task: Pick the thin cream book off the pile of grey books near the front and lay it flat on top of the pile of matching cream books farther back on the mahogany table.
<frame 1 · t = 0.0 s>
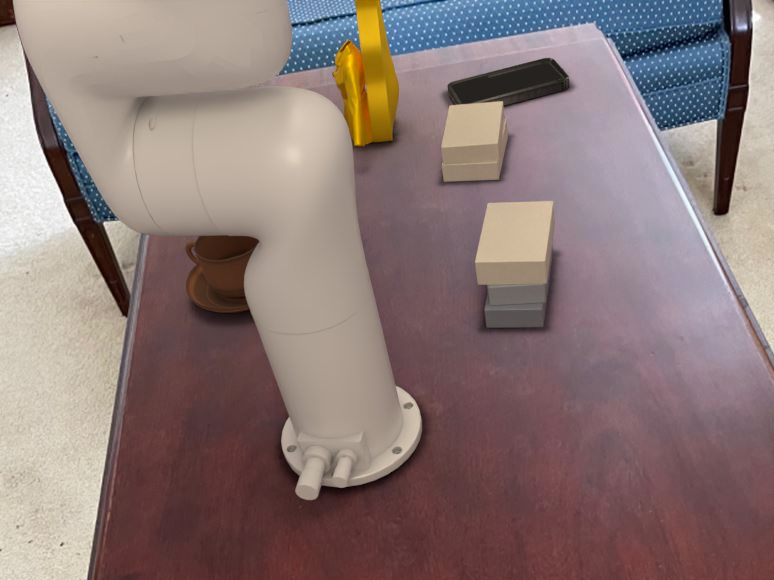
cream stack: (476, 158, 114), on the table
grey stack: (520, 289, 95), on the table
phone: (508, 90, 124), on the table
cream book: (517, 253, 92), point 4 cm above the table, touching grey stack
figure statuette: (376, 135, 121), on the table
cup and saucer: (246, 289, 102), on the table
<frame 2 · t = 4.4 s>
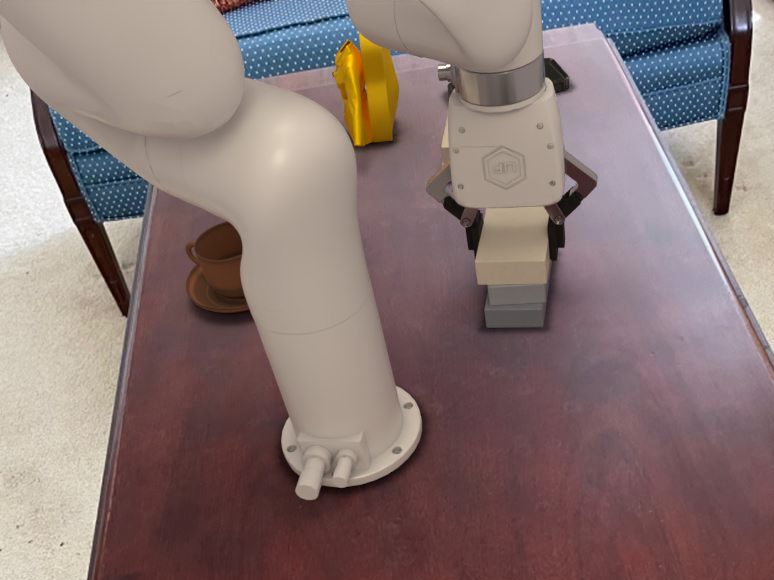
hand: (517, 252, 92), 5 cm above the table, tool pointing down, fingers closed on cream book, 6 cm apart
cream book: (517, 253, 92), point 4 cm above the table, touching grey stack, gripper
everything else where it was.
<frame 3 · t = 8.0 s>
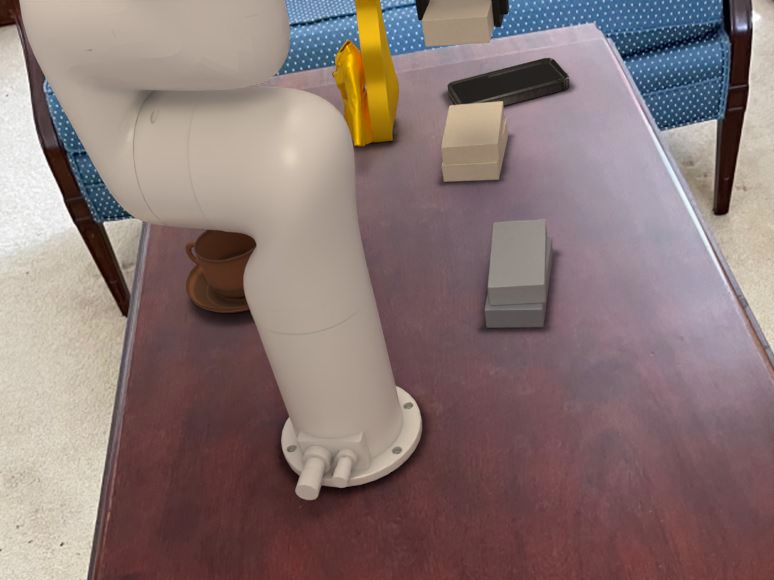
hand: (464, 22, 98), 18 cm above the table, tool pointing down, fingers closed on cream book, 6 cm apart
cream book: (464, 23, 98), point 18 cm above the table, touching gripper
everything else where it was.
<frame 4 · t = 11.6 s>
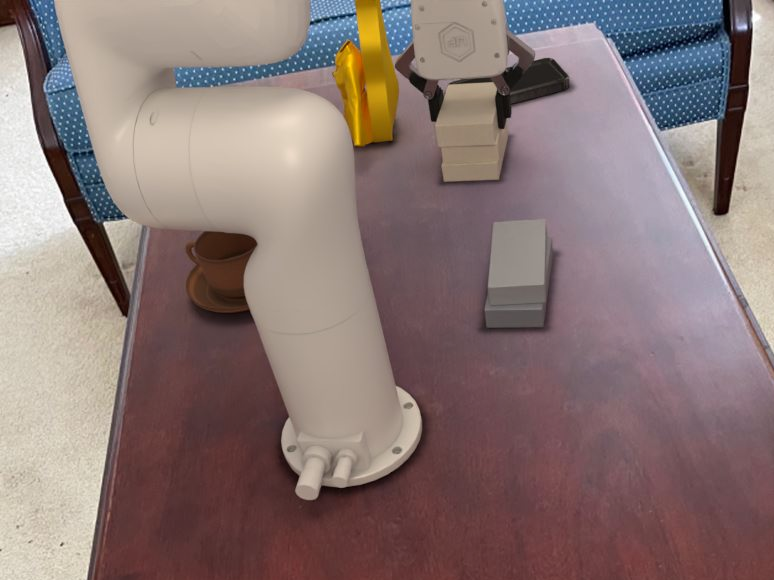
hand: (472, 123, 110), 5 cm above the table, tool pointing down, fingers closed on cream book, 6 cm apart
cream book: (472, 124, 110), point 4 cm above the table, touching gripper
everything else where it was.
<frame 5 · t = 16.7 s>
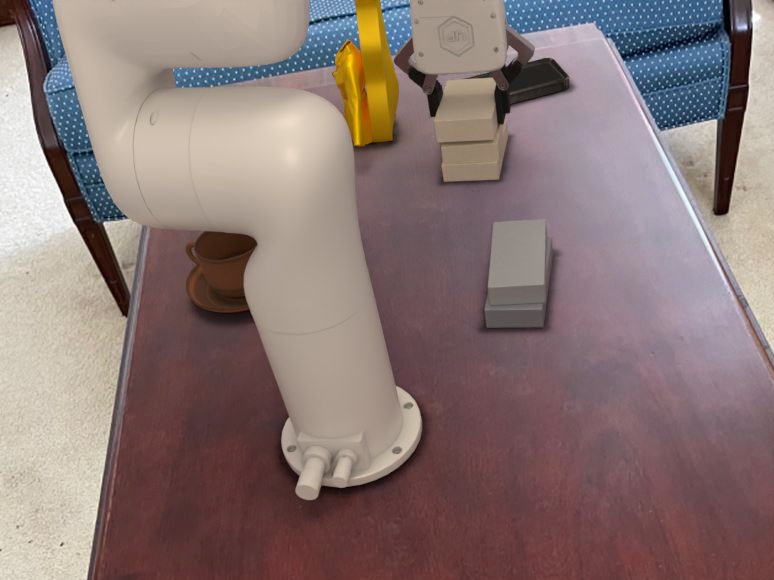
hand: (471, 119, 110), 5 cm above the table, tool pointing down, fingers closed on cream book, 6 cm apart
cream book: (471, 119, 110), point 5 cm above the table, touching gripper
everything else where it was.
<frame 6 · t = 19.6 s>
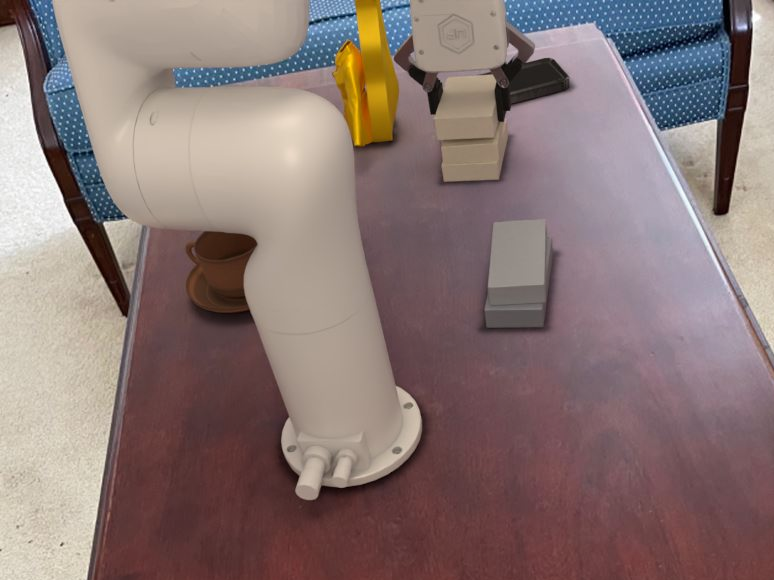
hand: (471, 116, 110), 5 cm above the table, tool pointing down, fingers closed on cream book, 6 cm apart
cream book: (471, 117, 110), point 5 cm above the table, touching gripper
everything else where it was.
when the fingers open (6 cm above the table, at t = 21.7 s): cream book drops 1 cm, resting on cream stack.
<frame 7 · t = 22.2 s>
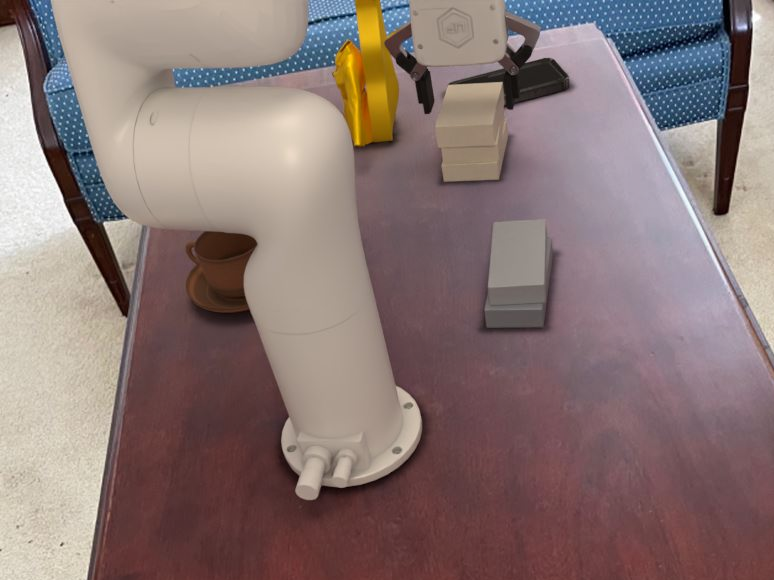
hand: (470, 106, 109), 7 cm above the table, tool pointing down, fingers open, 9 cm apart
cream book: (472, 124, 110), point 4 cm above the table, touching cream stack
everything else where it was.
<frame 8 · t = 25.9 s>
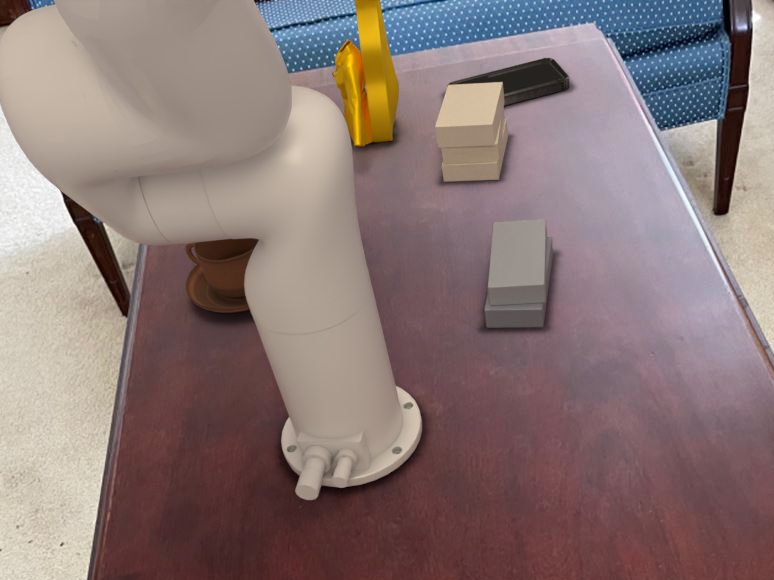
nothing on the table moved.
at the end: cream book 0.1 cm off-centre on the cream stack, point 4.4 cm above the cream stack's base; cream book tilted 0°; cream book touching cream stack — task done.
